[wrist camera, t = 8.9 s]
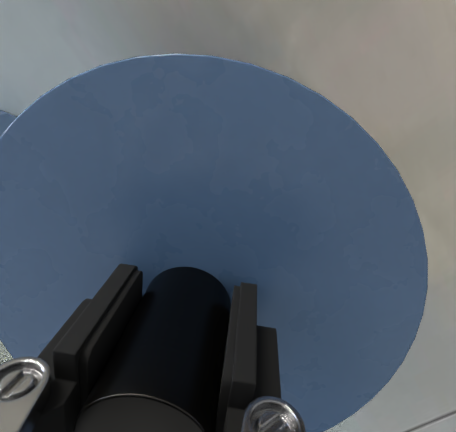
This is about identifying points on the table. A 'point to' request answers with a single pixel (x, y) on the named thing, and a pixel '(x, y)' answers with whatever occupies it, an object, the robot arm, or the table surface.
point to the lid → (208, 236)
